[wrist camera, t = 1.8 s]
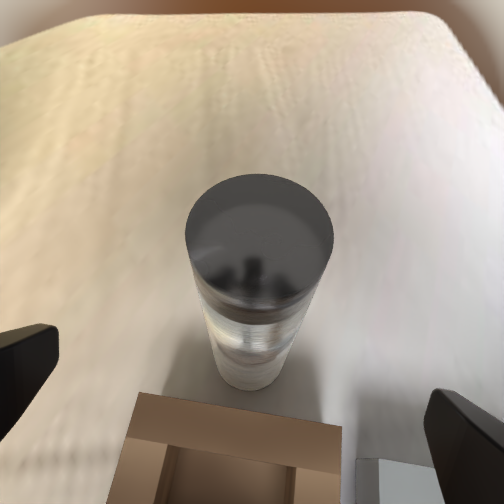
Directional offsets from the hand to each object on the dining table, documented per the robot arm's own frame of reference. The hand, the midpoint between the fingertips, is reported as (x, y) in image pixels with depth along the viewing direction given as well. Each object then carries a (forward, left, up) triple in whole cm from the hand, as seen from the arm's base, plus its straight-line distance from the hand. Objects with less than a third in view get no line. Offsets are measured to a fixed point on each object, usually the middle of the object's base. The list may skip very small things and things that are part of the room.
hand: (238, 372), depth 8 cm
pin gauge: (+2, -3, -12) cm, 13 cm away
